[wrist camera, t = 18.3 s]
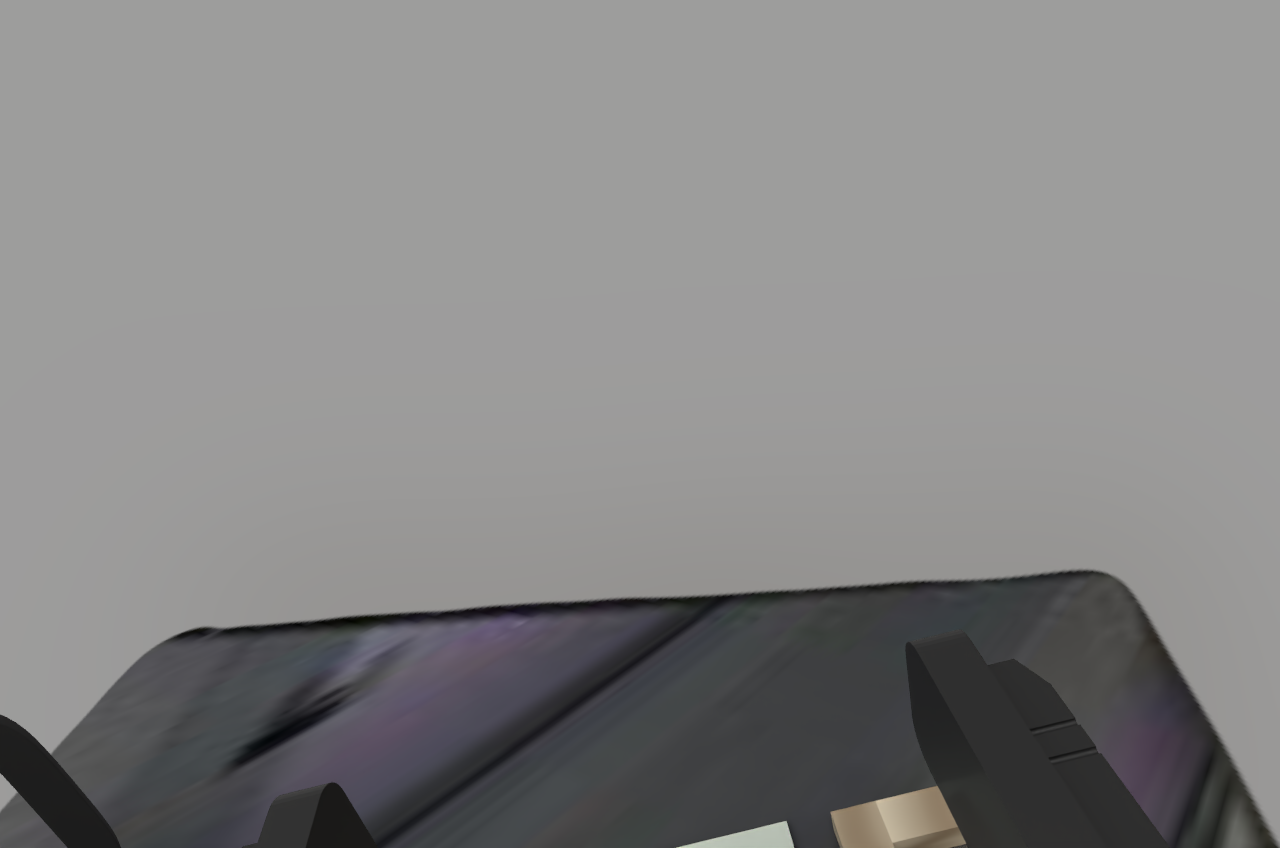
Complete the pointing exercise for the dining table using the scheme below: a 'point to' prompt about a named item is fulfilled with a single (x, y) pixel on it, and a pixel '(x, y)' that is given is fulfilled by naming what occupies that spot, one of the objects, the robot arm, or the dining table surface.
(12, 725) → the coffee press
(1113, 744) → the dining table surface
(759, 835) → the mat
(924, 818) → the slot holder
